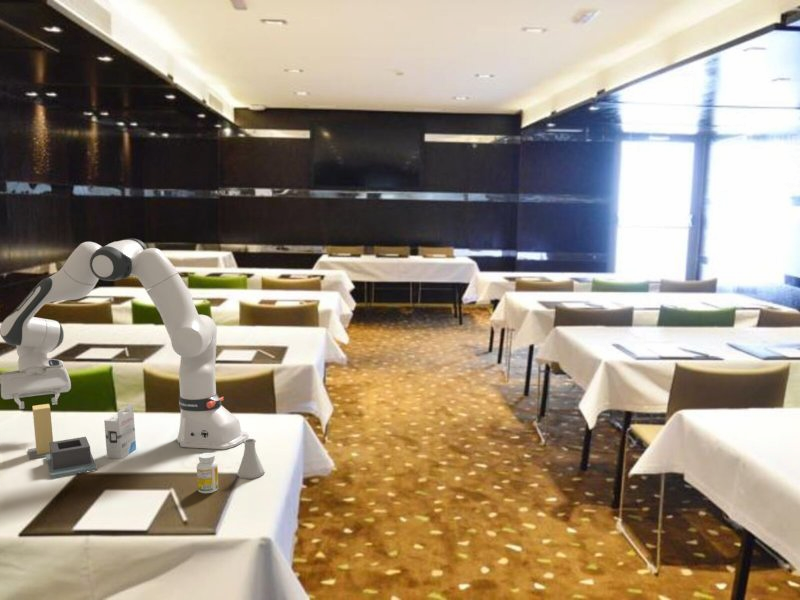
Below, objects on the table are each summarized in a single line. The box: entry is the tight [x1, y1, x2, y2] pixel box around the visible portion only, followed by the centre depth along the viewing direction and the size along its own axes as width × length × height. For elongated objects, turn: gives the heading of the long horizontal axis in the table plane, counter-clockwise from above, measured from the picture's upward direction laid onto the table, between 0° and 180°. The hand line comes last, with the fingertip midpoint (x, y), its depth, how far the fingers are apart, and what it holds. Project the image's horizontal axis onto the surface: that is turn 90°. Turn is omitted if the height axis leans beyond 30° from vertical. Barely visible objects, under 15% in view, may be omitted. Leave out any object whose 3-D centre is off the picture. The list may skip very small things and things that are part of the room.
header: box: [49, 436, 92, 470], centre depth 219 cm, size 10×10×5 cm
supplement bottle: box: [196, 452, 219, 494], centre depth 200 cm, size 5×5×10 cm
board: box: [45, 453, 98, 479], centre depth 220 cm, size 18×12×1 cm, turn 29°
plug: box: [32, 403, 54, 455], centre depth 228 cm, size 5×5×14 cm
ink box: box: [104, 403, 137, 460], centre depth 227 cm, size 8×5×15 cm, turn 168°
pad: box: [27, 447, 50, 460], centre depth 230 cm, size 9×9×1 cm
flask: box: [236, 438, 266, 480], centre depth 210 cm, size 7×7×10 cm
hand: (38, 405), depth 238 cm, fingers open, 8 cm apart
